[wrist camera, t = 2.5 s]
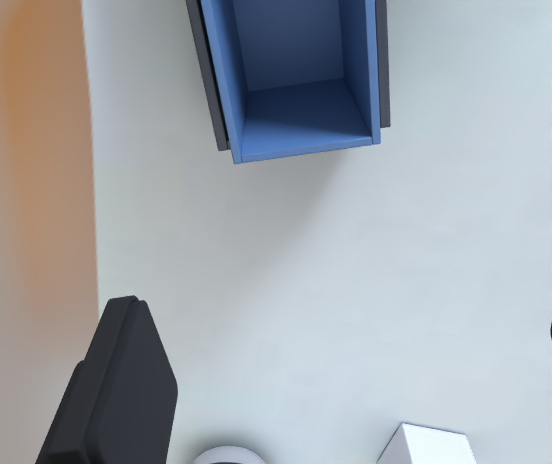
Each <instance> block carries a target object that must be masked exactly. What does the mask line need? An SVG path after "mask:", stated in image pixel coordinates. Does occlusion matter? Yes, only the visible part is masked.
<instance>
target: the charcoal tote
mask: <svg viewBox="0 0 552 464" xmlns="http://www.w3.org/2000/svg"><path fill="white" fill-rule="evenodd" d="M186 4H187V9H188V14H189V18H190V23H191V27H192V32H193V37H194V41H195V46H196V50H197V55H198V59H199V64H200V69H201V73H202V78H203V82H204V87H205V91H206V96H207V101H208V105H209V110H210V114H211V119H212V124H213V128H214V133H215V137H216V142H217V146H218V150H219V151H224V150H228V149H229V150H231V147H230V142H229V137H228V132H227V127H226V122H225V117H224V112H223V108H222V103H221V98H220V93H219V88H218V83H217V78H216V73H215V68H214V64H213V59H212V54H211V49H210V44H209V39H208V34H207V29H206V24H205V20H204V15H203V10H202V5H201V0H186ZM375 23H376V45H377V68H378V90H379V113H380V128H385V127H390V126H391V124H390V94H389V65H388V35H387V5H386V0H375Z"/></svg>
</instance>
